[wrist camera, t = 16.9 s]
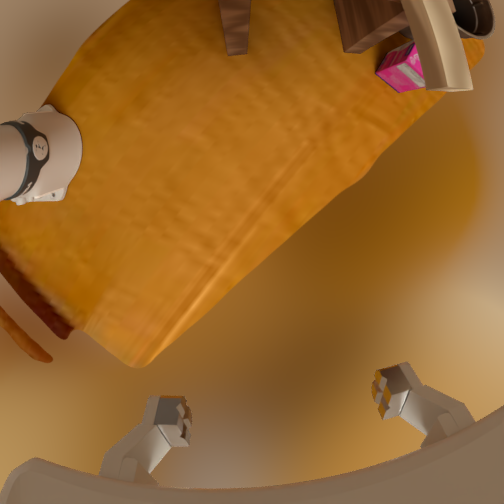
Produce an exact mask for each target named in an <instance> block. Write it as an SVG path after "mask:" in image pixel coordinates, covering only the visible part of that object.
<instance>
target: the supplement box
mask: <svg viewBox="0 0 504 504" xmlns="http://www.w3.org/2000/svg"><path fill="white" fill-rule="evenodd" d="M375 74H376V75H377V76H379V77H380V78H381V79H382V80H384V81H385V82H386V83H387V84H389V85H390V86H391V87H392V88H394V89H395V90H396V91H397V92H398V93H400V92H405V91H409V90H414V89H419V88H424V87H426V86H425V81H424V76H423V72H422V68H421V64H420V60H419V56H418V52H417V49H416V45H415V42H414V40H412V41H410V42H408V43H406V44H403V45H402V46H399V47H397V48H395V49H393V50H392V51H390V52H388V53H387V54H386V56H385V58H384V60H383V62H382V63H381V65H380V67H379V68H378V70H377V71H376V73H375Z"/></svg>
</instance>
